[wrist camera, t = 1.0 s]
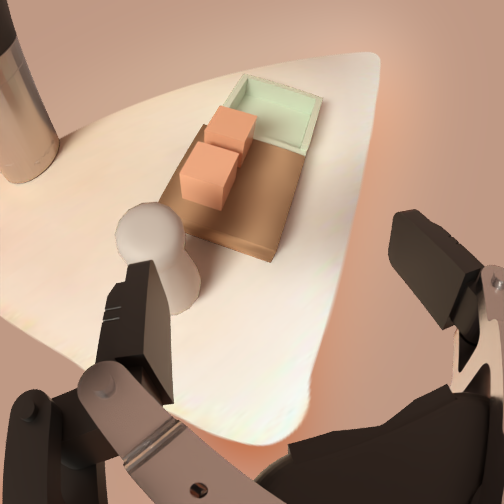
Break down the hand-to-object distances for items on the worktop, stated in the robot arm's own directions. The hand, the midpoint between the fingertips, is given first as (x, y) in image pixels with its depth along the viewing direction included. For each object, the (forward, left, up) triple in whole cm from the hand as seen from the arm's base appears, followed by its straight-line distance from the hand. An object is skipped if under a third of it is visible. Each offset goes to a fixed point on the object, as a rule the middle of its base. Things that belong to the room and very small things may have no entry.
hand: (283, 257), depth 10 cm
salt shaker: (-7, +2, -20) cm, 21 cm away
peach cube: (-7, +18, -17) cm, 26 cm away
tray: (-5, +26, -20) cm, 33 cm away
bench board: (-5, +14, -20) cm, 25 cm away
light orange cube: (-7, +12, -17) cm, 22 cm away
